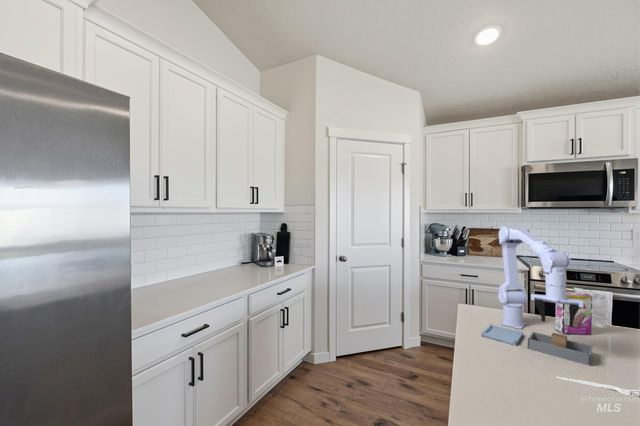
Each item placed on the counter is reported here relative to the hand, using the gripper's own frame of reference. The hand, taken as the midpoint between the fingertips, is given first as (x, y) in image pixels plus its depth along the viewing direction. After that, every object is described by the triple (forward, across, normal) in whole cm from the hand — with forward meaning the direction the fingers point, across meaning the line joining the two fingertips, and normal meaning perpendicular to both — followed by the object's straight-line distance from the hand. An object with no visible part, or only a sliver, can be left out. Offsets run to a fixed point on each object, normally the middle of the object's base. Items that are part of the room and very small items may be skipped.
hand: (557, 323), depth 104 cm
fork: (+12, +11, -16) cm, 23 cm away
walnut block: (+10, 0, +2) cm, 11 cm away
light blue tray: (+10, -18, +2) cm, 21 cm away
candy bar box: (+10, +2, +28) cm, 29 cm away
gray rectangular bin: (+10, 0, +2) cm, 11 cm away
